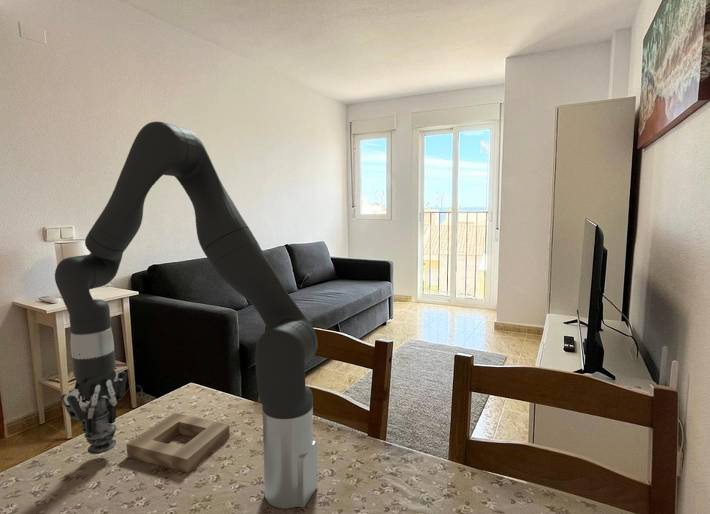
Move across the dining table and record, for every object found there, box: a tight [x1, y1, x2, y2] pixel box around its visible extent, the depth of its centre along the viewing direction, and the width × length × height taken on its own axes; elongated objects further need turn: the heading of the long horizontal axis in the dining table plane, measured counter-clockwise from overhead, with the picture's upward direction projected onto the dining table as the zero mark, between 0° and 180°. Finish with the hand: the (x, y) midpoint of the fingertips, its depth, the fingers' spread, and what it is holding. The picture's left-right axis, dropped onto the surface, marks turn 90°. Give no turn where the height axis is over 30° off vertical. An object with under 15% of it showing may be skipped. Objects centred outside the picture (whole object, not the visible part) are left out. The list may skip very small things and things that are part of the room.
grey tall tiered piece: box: [83, 397, 117, 455], centre depth 88 cm, size 6×6×12 cm
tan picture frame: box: [126, 412, 231, 474], centre depth 93 cm, size 16×14×3 cm
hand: (100, 427), depth 88 cm, fingers closed on grey tall tiered piece, 4 cm apart
